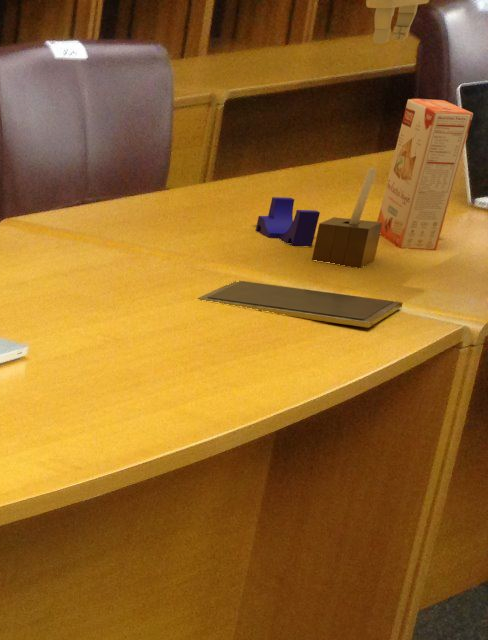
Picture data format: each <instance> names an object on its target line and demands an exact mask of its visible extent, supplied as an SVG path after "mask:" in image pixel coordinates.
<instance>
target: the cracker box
mask: <svg viewBox="0 0 488 640" xmlns="http://www.w3.org/2000/svg"><path fill="white" fill-rule="evenodd" d="M473 116H474V113H473V112H472V111H469V110H467V109H465V108H462V107H460V106H458V105H456V104H454V103H452V102H449V101H447V100H442V99H429V98H428V99H427V98H410V99H409V98H408V99H407V102H406V105H405V110H404V114H403V118H402V122H401V126H400V130H399V133H398V136H397V137H398V138H397V142H396V146H395V150H394V154H393V158H392V161H391V165H390V169H389V173H388V178H387V181H386V185H385V189H384V194H383V196H382V201H381V205H380V209H379V213H378V217H377V221H376V222H382V228H381V232H380V233H381V234H382V235H383V236H385V237H386V238H387V239H389V240H390V241H391V242H392V243H391V242H390V241H389V240H388V241H389V242H390V243H391V244H393V243H394V244H395V245H396V247H397V248H398V247H399V249H406V248H408V249H409V250H423V251H424V249H425V250H426V251H437V248H438V244H439V240H440V237H441V233H442V229H443V226H444V223H445V219H446V216H447V211H448V207H449V203H450V200H451V196H452V192H453V189H454V186H455V182H456V179H457V175H458V171H459V168H460V164H461V160H462V156H463V153H464V150H465V146H466V142H467V139H468V135H469V131H470V127H471V125H472V120H473ZM381 234H380V235H381ZM382 235H381V236H382ZM383 236H382V237H383ZM385 237H384V238H385ZM386 238H385V239H386ZM387 239H386V240H387ZM394 244H393V245H394ZM395 245H394V246H395ZM408 249H407V250H408Z"/></svg>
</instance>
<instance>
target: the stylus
mask: <svg viewBox="0 0 488 640" xmlns="http://www.w3.org/2000/svg"><path fill="white" fill-rule="evenodd" d="M377 172H378V169H377V168H376V167H375V166H371V167H370V168H368V169H367V172H366V175H365V178H364V181H363V183H362V186H361V188H360V192H359V194H358V197H357V200H356V203H355V206H354V209H353V212H352V214H351V217H350V219H351V220H350V223H349V224H354V225H357V224H358V223H359V220H361V217H362V214H363V212H364V210H365V206H366V203H367V200H368V198H369V195H370V192H371V189H372V187H373V184H374V181H375V178H376V176H377Z"/></svg>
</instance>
